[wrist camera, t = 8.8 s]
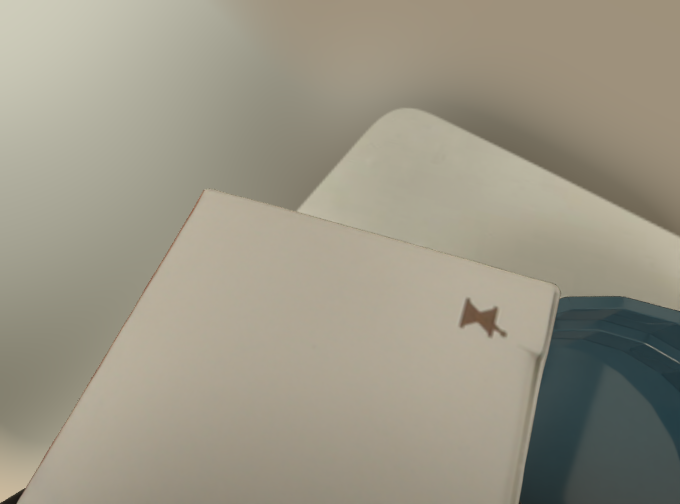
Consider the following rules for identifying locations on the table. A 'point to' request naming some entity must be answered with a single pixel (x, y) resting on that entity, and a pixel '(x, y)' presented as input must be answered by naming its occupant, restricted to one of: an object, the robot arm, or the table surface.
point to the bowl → (607, 406)
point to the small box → (308, 373)
